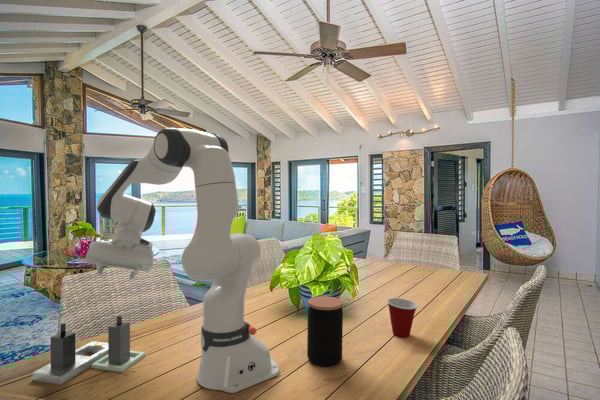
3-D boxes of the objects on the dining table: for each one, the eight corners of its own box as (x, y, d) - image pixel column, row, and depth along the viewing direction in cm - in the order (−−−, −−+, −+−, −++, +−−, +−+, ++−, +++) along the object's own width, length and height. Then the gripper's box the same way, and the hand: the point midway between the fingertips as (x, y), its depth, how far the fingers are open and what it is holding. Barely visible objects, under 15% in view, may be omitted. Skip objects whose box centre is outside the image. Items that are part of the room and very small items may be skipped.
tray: (116, 353, 109) (116, 348, 109) (145, 357, 107) (145, 352, 107) (91, 369, 99) (91, 364, 99) (122, 373, 97) (122, 368, 97)
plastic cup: (419, 342, 120) (420, 307, 120) (387, 339, 122) (387, 305, 122) (415, 330, 131) (416, 298, 130) (385, 327, 133) (386, 296, 132)
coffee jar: (339, 351, 112) (340, 296, 112) (344, 368, 102) (345, 307, 101) (306, 351, 112) (306, 296, 112) (308, 368, 101) (308, 307, 101)
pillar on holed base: (92, 348, 112) (92, 305, 112) (116, 351, 110) (116, 307, 110) (32, 381, 93) (32, 329, 92) (60, 386, 91) (60, 332, 91)
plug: (118, 357, 106) (118, 313, 105) (129, 359, 105) (129, 314, 104) (108, 363, 102) (108, 318, 101) (120, 365, 101) (120, 319, 101)
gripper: (92, 232, 117) (79, 264, 106) (157, 243, 125) (151, 274, 114) (90, 245, 120) (78, 277, 109) (153, 255, 128) (147, 286, 117)
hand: (115, 275), depth 112 cm, fingers open, 8 cm apart
